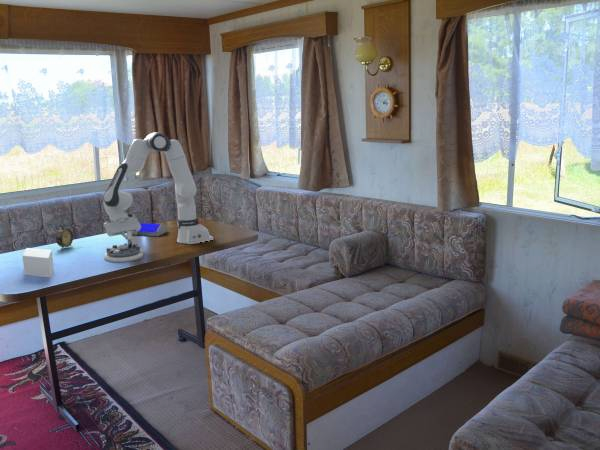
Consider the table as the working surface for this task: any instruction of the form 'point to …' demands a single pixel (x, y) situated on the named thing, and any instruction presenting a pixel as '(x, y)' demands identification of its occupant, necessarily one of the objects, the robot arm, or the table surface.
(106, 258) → the base plate
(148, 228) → the blue screen device
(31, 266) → the white box
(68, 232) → the alarm clock
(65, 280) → the table surface
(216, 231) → the table surface
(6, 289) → the table surface
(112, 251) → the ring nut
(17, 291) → the table surface
